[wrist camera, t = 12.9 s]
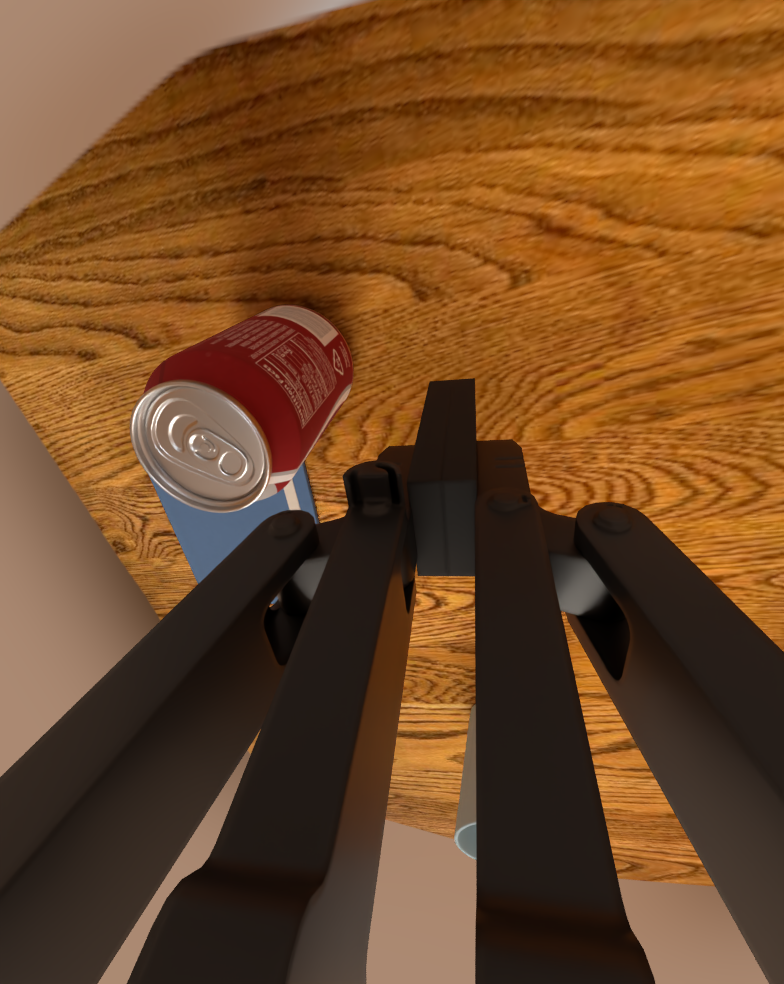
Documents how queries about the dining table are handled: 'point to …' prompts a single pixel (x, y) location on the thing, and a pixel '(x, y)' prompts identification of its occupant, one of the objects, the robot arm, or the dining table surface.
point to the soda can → (242, 408)
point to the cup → (468, 795)
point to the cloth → (230, 523)
